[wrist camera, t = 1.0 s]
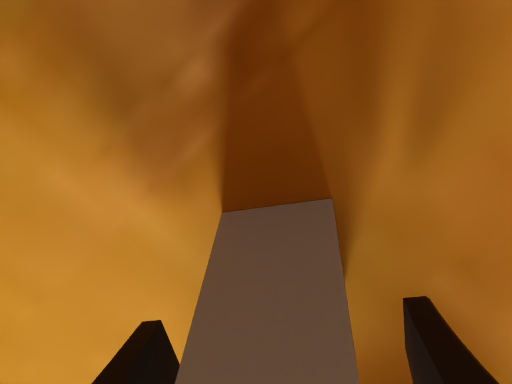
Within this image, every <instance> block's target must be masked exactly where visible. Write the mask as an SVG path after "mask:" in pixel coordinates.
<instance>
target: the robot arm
mask: <svg viewBox="0 0 512 384" xmlns="http://www.w3.org/2000/svg"><path fill="white" fill-rule="evenodd" d="M403 310H404V330H405V349H406V353H407V358H408V362H409V367H410V371H411V375H412V379H413V384H499V383H498V382H497V381H496V380H495V379H494V378H493V377H492V376H491V375H490V373H489V372H488V371H487V370H486V369H485V368H484V367H483V366H482V365H481V364H480V363H479V361H478V360H477V359H476V358H475V357H474V356H473V354H472V353H471V352H470V351H469V350H468V349H467V348H466V346H465V345H464V344H463V343H462V342H461V340H460V339H459V338H458V337H457V336H456V334H455V333H454V332H453V330H452V329H451V328H450V327H449V325H448V324H447V323H446V321H445V320H444V319H443V317H442V316H441V315H440V313H439V312H438V310H437V309H436V308H435V306H434V305H433V303H432V302H431V300H430V299H429V298H428V297H426V296H422V297H411V298H403ZM179 366H180V364H179V362H178V359H177V357H176V355H175V352H174V350H173V348H172V345H171V343H170V341H169V338H168V336H167V333H166V331H165V329H164V326H163V324H162V322H161V320H156V321H145V322H142V323H141V324H140V325H139V326H138V328H137V329H136V330H135V331H134V332H133V334H132V335H131V336H130V337H129V339H128V340H127V341H126V342H125V344H124V345H123V346H122V347H121V349H120V350H119V351H118V352H117V354H116V355H115V356H114V357H113V359H112V360H111V361H110V362H109V363H108V365H107V366H106V367H105V368H104V369H103V371H102V372H101V373H100V374H99V375H98V377H97V378H96V379H95V380H94V381H93V383H92V384H175V382H176V378H177V374H178V371H179Z"/></svg>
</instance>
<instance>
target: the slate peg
mask: <svg viewBox="0 0 512 384" xmlns="http://www.w3.org/2000/svg"><path fill="white" fill-rule="evenodd" d="M175 384H359V379H358V372H357V365H356V358H355V351H354V344H353V337H352V331H351V324H350V317H349V310H348V303H347V296H346V289H345V282H344V276H343V269H342V262H341V255H340V248H339V241H338V234H337V228H336V221H335V214H334V207H333V200H332V198H330V199H323V200H315V201H307V202H300V203H292V204H284V205H277V206H269V207H261V208H254V209H246V210H238V211H231V212H223V213H222V215H221V218H220V222H219V226H218V229H217V233H216V236H215V240H214V244H213V247H212V251H211V255H210V258H209V262H208V265H207V269H206V273H205V276H204V280H203V284H202V287H201V291H200V294H199V298H198V302H197V305H196V309H195V313H194V316H193V320H192V324H191V327H190V331H189V334H188V338H187V342H186V345H185V349H184V353H183V356H182V360H181V363H180V367H179V371H178V374H177V378H176V382H175Z"/></svg>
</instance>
